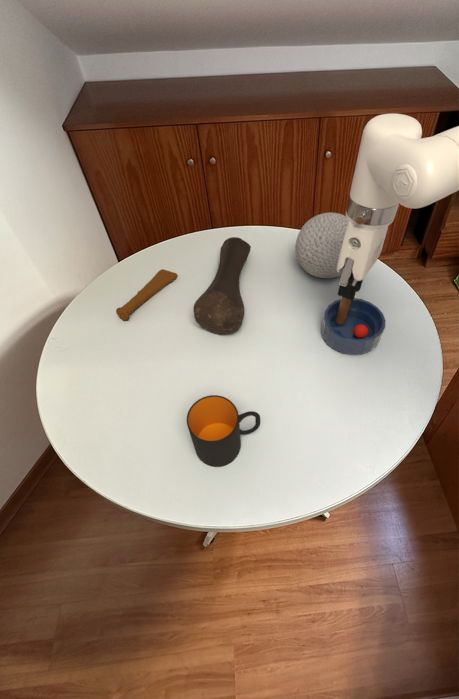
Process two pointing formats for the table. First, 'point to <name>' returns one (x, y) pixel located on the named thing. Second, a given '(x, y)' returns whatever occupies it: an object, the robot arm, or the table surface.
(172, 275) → the primitive tool
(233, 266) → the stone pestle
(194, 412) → the mug
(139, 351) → the table surface
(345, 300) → the stick
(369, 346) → the bowl
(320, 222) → the decorative ball
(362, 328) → the ball
